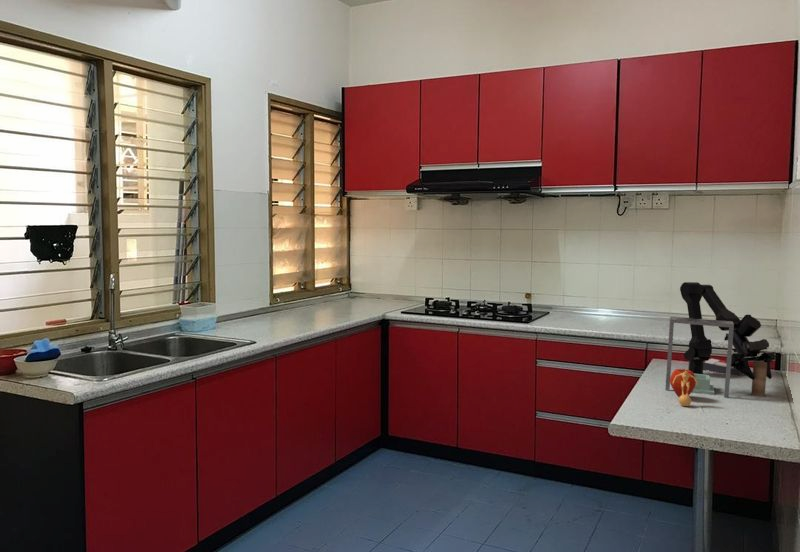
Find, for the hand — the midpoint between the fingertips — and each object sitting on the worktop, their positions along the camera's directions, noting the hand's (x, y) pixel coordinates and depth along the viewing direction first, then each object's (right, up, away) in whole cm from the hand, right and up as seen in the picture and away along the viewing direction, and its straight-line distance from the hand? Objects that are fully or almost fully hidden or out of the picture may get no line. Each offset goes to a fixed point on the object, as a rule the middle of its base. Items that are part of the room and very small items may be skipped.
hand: (762, 378), depth 237 cm
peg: (-1, -6, +2) cm, 7 cm away
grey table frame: (-22, -6, +5) cm, 23 cm away
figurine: (-35, -7, -14) cm, 39 cm away
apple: (-32, -6, -5) cm, 33 cm away
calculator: (+7, -4, +42) cm, 43 cm away
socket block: (-20, -5, +9) cm, 23 cm away
